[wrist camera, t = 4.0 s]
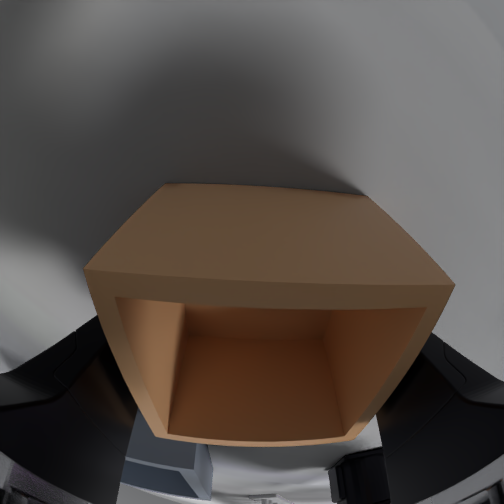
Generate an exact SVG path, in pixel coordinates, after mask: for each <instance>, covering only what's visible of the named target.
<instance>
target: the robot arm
mask: <svg viewBox="0 0 504 504" xmlns="http://www.w3.org/2000/svg"><path fill="white" fill-rule="evenodd" d="M137 411H138V405H137V403H136V402H135V400H134V398H133V396H132V394H131V392H130V390H129V388H128V386H127V384H126V382H125V380H124V378H123V375H122V373H121V371H120V369H119V367H118V365H117V362H116V360H115V358H114V356H113V353H112V351H111V348H110V346H109V344H108V341H107V339H106V336H105V334H104V331H103V328H102V326H101V323H100V320H99V318H98V315H97V316H95V317H94V318H92V319H91V320H89V321H88V322H86V323H85V324H84V325H82V326H81V327H79V328H78V329H76V332H75V331H74V332H72V333H71V334H69V335H68V336H67V337H65V338H64V339H62V340H61V341H59V342H58V343H56V344H55V345H53V346H52V347H50V348H48V349H47V350H45V351H44V352H42V353H40V354H39V355H37V356H35V357H34V358H32V359H30V360H29V361H27V362H25V363H24V364H22V365H20V366H19V367H17V368H15V369H14V370H12V371H9V372H6V373H1V374H0V504H88V503H90V504H116V501H117V495H118V491H119V486H120V481H121V477H122V472H123V467H124V463H125V459H126V457H125V456H126V454H127V450H128V445H129V441H130V437H131V433H132V429H133V426H134V422H135V418H136V414H137ZM376 417H377V422H378V427H379V431H380V436H381V442H382V447H383V449H379V450H374V451H369V452H364V453H359V454H353V455H348V456H345V457H343V458H342V459H341V460H340V461H339V462H338V463H337V464H336V465H335V466H334V467H333V468H331V469H330V470H329V471H328V475H329V480H330V488H331V497H332V502H333V503H337V504H417V503H419V502H422V501H424V500H426V499H429V498H431V500H432V504H504V382H503V381H501V380H499V379H497V378H495V377H494V376H493V375H491V374H490V373H488V372H487V371H485V370H484V369H482V368H481V367H479V366H478V365H476V364H475V363H473V362H472V361H470V360H469V359H467V358H466V357H464V356H463V355H461V354H460V353H459V352H457V351H456V350H455V349H453V348H452V347H451V346H449V345H448V344H447V343H445V342H443V340H441V339H440V338H439V337H437V336H436V335H435V334H433V333H432V332H431V334H430V336H429V337H428V339H427V341H426V343H425V344H424V346H423V348H422V349H421V351H420V352H419V354H418V356H417V357H416V359H415V360H414V362H413V364H412V365H411V367H410V368H409V370H408V371H407V373H406V374H405V376H404V377H403V378H402V380H401V381H400V383H399V384H398V386H397V387H396V388H395V390H394V391H393V392H392V394H391V395H390V396H389V398H388V399H387V400H386V402H385V403H384V404H383V406H382V407H381V408H380V409H379V411H378V412H377V413H376Z"/></svg>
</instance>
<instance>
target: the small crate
mask: <svg viewBox="0 0 504 504" xmlns="http://www.w3.org/2000/svg"><path fill="white" fill-rule="evenodd" d="M83 271H84V274H85V278H86V281H87V284H88V288H89V291H90V294H91V297H92V300H93V303H94V306H95V309H96V312H97V315H98V318H99V320H100V323H101V326H102V328H103V331H104V334H105V336H106V339H107V341H108V344H109V346H110V348H111V351H112V353H113V356H114V358H115V360H116V362H117V365H118V367H119V369H120V371H121V373H122V375H123V378H124V380H125V382H126V384H127V386H128V388H129V390H130V392H131V394H132V396H133V398H134V400H135V402H136V403H137V405H138V407H139V409H140V411H141V413H142V414H143V416H144V418H145V420H146V421H147V423H148V425H149V427H150V428H151V430H152V432H153V433H154V435H155V437H160V438H165V439H171V440H178V441H185V442H193V443H201V444H212V445H224V446H244V447H284V446H304V445H316V444H326V443H335V442H343V441H350V440H354V439H355V438H356V436H357V435H358V434H359V433H360V432H361V431H362V430H363V429H364V427H365V426H366V425H367V424H368V423H369V422H370V420H371V419H372V418H373V417H374V416H375V414H376V413H377V412H378V411H379V409H380V408H381V407H382V406H383V404H384V403H385V402H386V400H387V399H388V398H389V396H390V395H391V394H392V392H393V391H394V390H395V388H396V387H397V386H398V384H399V383H400V381H401V380H402V378H403V377H404V376H405V374H406V373H407V371H408V370H409V368H410V367H411V365H412V364H413V362H414V360H415V359H416V357H417V356H418V354H419V352H420V351H421V349H422V348H423V346H424V344H425V343H426V341H427V339H428V337H429V336H430V334H431V332H432V330H433V329H434V327H435V325H436V323H437V321H438V319H439V317H440V315H441V314H442V312H443V310H444V308H445V306H446V304H447V302H448V300H449V297H450V295H451V293H452V291H453V289H454V287H455V283H454V282H453V281H452V280H451V279H450V278H449V277H448V275H447V274H446V273H445V272H444V271H443V270H442V269H441V268H440V266H439V265H438V264H437V263H436V262H435V261H434V260H433V259H432V258H431V257H430V256H429V255H428V254H427V253H426V251H425V250H424V249H423V248H422V247H421V246H420V245H419V244H418V243H417V242H416V241H415V240H414V239H413V238H412V237H411V236H410V235H409V234H408V233H407V232H406V231H405V230H404V229H403V228H402V227H401V226H400V225H399V224H397V223H396V222H395V221H394V220H393V219H392V218H391V217H390V216H389V215H388V214H387V213H386V212H385V211H384V210H382V209H381V208H380V207H379V206H378V205H377V204H376V203H375V202H374V201H372V200H371V199H370V198H369V197H368V196H363V195H355V194H346V193H337V192H328V191H318V190H307V189H295V188H282V187H267V186H250V185H228V184H190V183H165V184H164V185H163V186H162V187H161V188H159V189H158V190H157V191H156V192H155V193H154V194H153V195H152V196H151V197H150V198H149V199H148V200H147V201H146V202H145V203H144V204H143V205H142V206H141V207H140V208H139V209H138V210H137V211H136V212H135V213H134V214H133V215H132V216H131V217H130V218H129V219H128V220H127V221H126V222H125V223H124V224H123V225H122V226H121V227H120V228H119V229H118V230H117V231H116V232H115V233H114V234H113V236H112V237H111V238H110V239H109V240H108V241H107V242H106V243H105V244H104V245H103V246H102V248H101V249H100V250H99V251H98V252H97V253H96V254H95V255H94V257H93V258H92V259H91V260H90V261H89V262H88V263H87V265H86V266H85V267H84V268H83Z"/></svg>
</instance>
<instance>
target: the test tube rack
mask: <svg viewBox="0 0 504 504" xmlns="http://www.w3.org/2000/svg"><path fill="white" fill-rule="evenodd" d="M249 499H251V500H254V501H256V502H259V503H261V504H294V503H292V502H290V501H288V500H286V499H285V498H283V497H281V496H279V495H278V494H267V495H249Z"/></svg>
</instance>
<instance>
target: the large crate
mask: <svg viewBox="0 0 504 504" xmlns="http://www.w3.org/2000/svg"><path fill="white" fill-rule="evenodd" d="M125 457H126V459H125V463H124V467H123V472H122V477H121V481H120V483H121V484H125V485H129V486H132V487H136V488H140V489H144V490H148V491H152V492H157V493H162V494H167V495H172V496H178V497H185V498H192V499H200V500H209V501H211V491H212V477H213V466H212V462H211V459H210V455H209V451H208V446H207V444H201V443H193V442H185V441H178V440H171V439H165V438H160V437H155V435H154V433H153V432H152V430H151V428H150V427H149V425H148V423H147V421H146V420H145V418H144V416H143V414H142V413H141V411H140V409H139V407H138V411H137V414H136V418H135V422H134V426H133V429H132V433H131V437H130V441H129V445H128V450H127V454H126V456H125Z"/></svg>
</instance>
